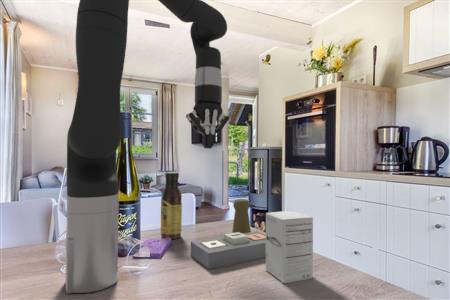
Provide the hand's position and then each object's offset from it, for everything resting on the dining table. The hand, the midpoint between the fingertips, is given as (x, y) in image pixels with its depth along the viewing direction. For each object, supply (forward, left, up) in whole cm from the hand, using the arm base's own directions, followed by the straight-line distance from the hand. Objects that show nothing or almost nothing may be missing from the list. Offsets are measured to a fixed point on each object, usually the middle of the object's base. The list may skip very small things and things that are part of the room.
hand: (208, 148), depth 81 cm
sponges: (-14, +4, -28) cm, 31 cm away
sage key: (+3, -10, -25) cm, 27 cm away
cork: (+15, +6, -27) cm, 32 cm away
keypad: (+3, -10, -27) cm, 29 cm away
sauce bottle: (-6, +13, -27) cm, 31 cm away
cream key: (-3, -10, -26) cm, 28 cm away
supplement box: (+6, -26, -27) cm, 38 cm away
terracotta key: (+9, -10, -26) cm, 29 cm away
